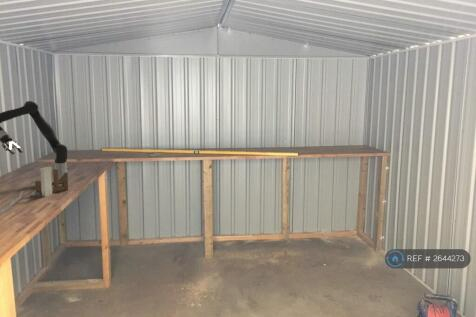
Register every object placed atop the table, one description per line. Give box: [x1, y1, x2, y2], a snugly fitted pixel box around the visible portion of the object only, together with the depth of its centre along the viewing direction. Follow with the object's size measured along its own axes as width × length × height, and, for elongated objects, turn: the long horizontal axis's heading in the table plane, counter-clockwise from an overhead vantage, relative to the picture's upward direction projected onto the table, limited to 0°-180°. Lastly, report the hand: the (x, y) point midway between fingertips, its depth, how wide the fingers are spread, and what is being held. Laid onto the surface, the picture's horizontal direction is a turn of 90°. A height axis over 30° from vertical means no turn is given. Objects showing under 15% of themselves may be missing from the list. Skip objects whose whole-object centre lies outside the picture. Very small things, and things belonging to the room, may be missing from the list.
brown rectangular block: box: [34, 179, 42, 192], centre depth 317 cm, size 4×6×10 cm, turn 78°
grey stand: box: [29, 166, 54, 198], centre depth 316 cm, size 11×13×21 cm
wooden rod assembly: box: [52, 168, 69, 193], centre depth 331 cm, size 4×11×18 cm, turn 140°
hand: (17, 153), depth 320 cm, fingers open, 8 cm apart
